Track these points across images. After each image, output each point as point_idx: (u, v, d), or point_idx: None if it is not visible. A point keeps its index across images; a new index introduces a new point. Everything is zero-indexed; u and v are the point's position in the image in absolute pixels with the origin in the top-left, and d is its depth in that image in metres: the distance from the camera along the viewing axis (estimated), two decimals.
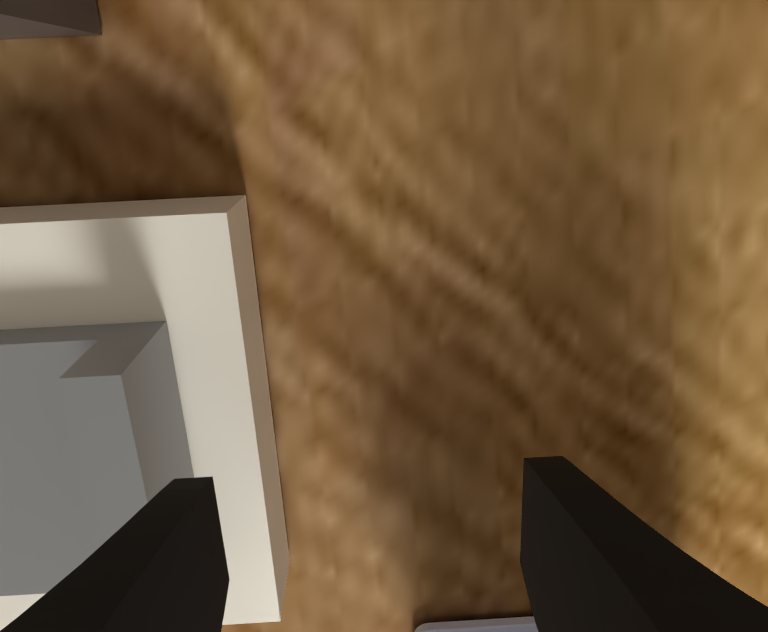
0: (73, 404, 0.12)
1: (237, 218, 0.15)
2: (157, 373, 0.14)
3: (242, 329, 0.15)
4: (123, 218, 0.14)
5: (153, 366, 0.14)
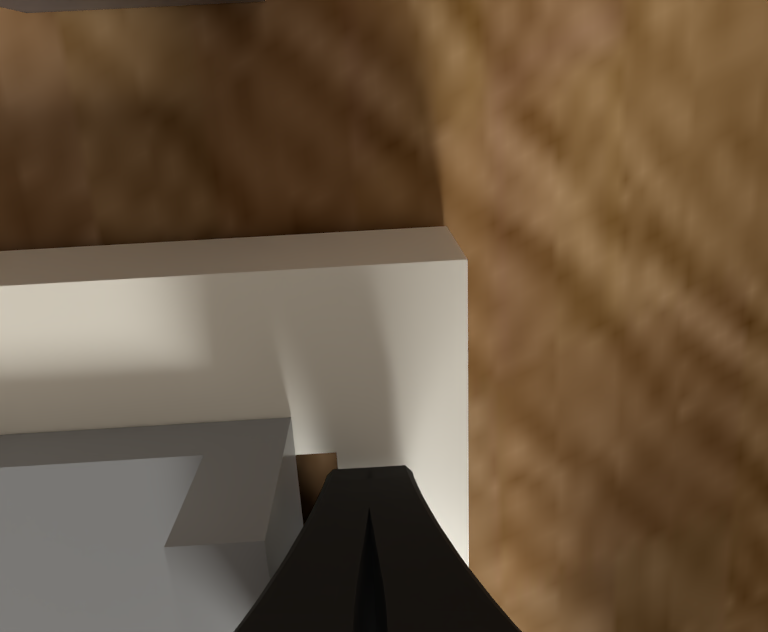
0: (185, 584, 0.08)
1: None
2: (287, 501, 0.10)
3: None
4: (315, 268, 0.09)
5: (286, 496, 0.09)
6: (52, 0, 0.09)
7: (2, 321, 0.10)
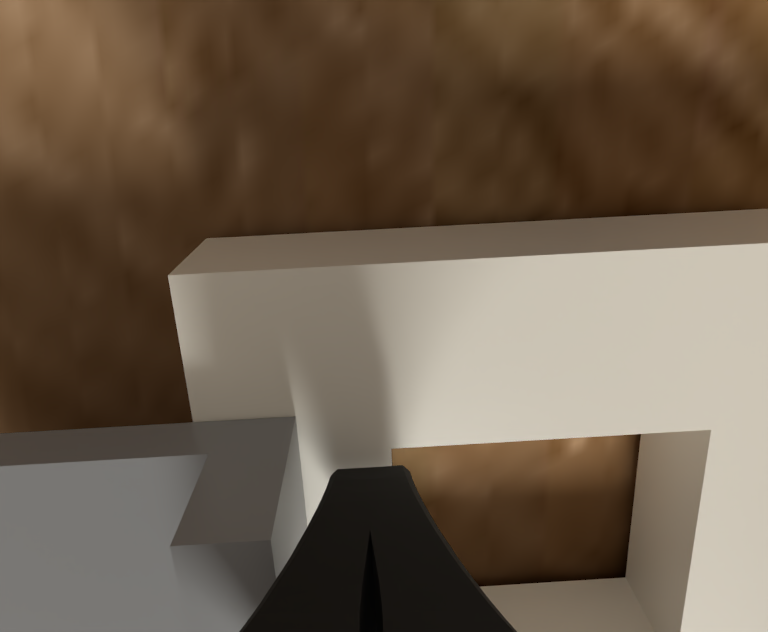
0: (191, 584, 0.08)
1: None
2: (291, 500, 0.10)
3: None
4: (733, 245, 0.10)
5: (290, 495, 0.09)
6: None
7: (420, 296, 0.10)
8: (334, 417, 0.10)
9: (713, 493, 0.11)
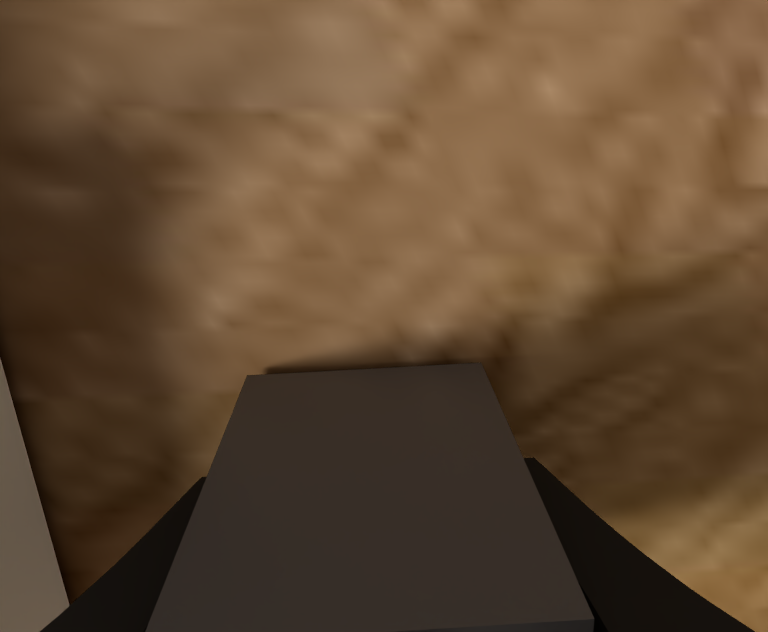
0: None
1: None
2: None
3: None
4: None
5: None
6: None
7: None
8: None
9: None
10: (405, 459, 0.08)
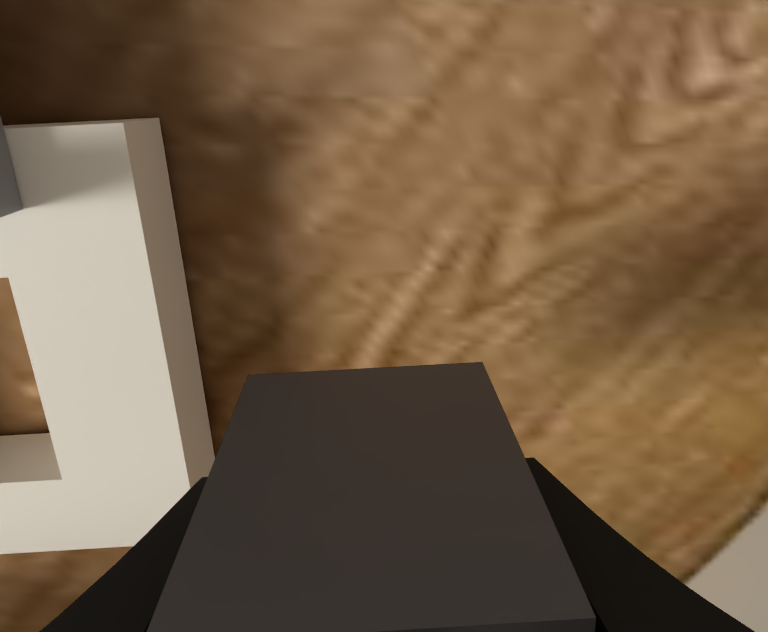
0: None
1: None
2: None
3: (96, 547, 0.17)
4: (186, 469, 0.16)
5: None
6: None
7: (130, 294, 0.15)
8: (27, 237, 0.14)
9: (13, 489, 0.16)
10: (407, 460, 0.08)
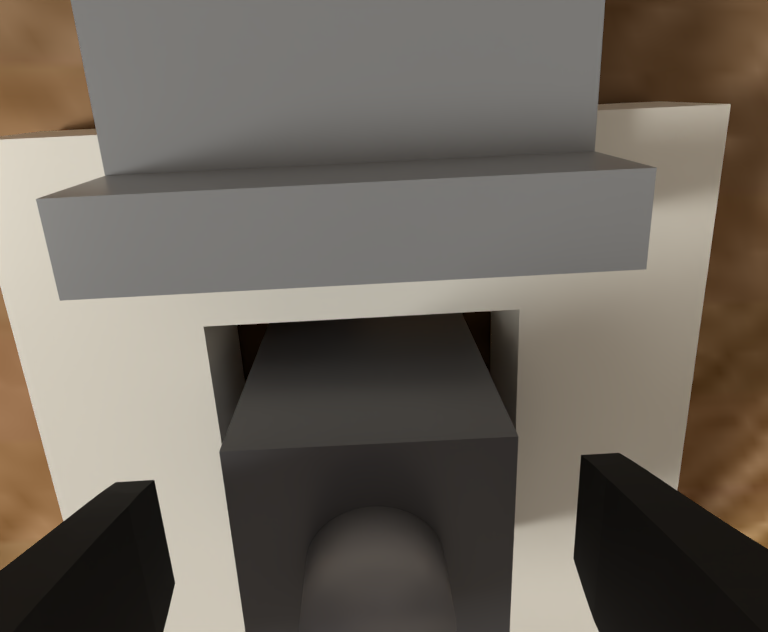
0: (605, 184, 0.07)
1: None
2: None
3: None
4: None
5: None
6: None
7: (668, 331, 0.11)
8: None
9: None
10: (396, 360, 0.11)
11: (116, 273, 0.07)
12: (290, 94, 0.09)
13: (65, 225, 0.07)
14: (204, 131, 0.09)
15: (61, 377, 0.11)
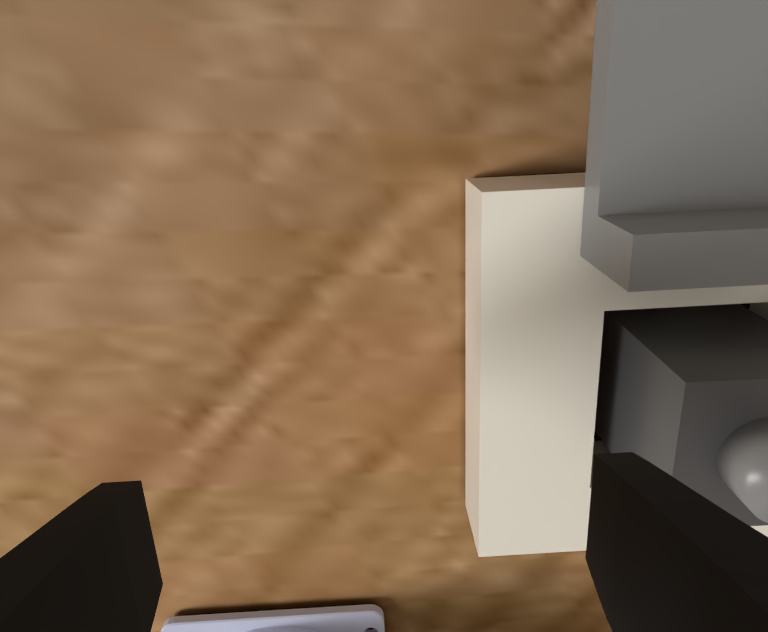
0: None
1: None
2: None
3: None
4: None
5: None
6: (609, 349, 0.18)
7: None
8: None
9: None
10: (730, 333, 0.16)
11: (664, 276, 0.13)
12: (720, 167, 0.14)
13: (644, 249, 0.13)
14: (664, 189, 0.14)
15: (504, 344, 0.17)
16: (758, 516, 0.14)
